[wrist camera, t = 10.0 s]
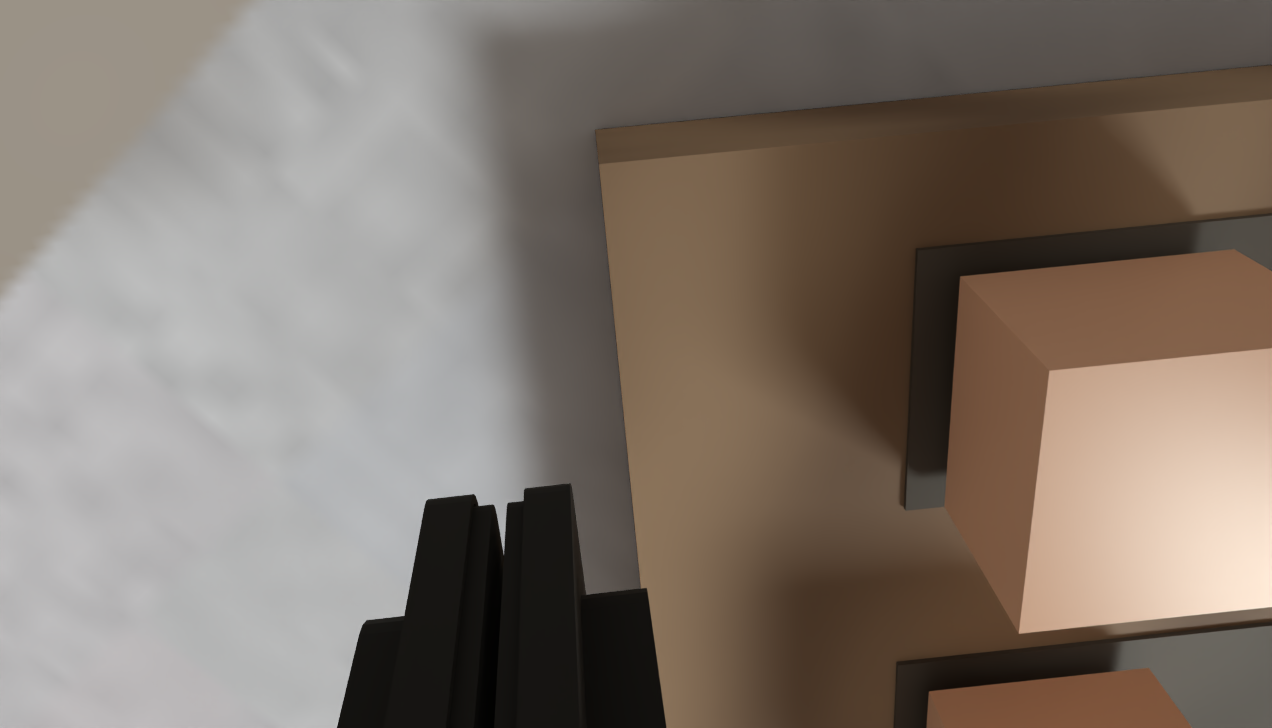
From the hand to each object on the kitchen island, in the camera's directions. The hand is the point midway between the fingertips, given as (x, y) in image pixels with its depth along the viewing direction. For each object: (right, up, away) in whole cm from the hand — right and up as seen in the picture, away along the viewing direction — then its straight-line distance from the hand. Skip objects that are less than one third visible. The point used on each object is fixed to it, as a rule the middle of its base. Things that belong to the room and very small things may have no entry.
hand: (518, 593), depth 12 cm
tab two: (+8, +2, +4) cm, 9 cm away
